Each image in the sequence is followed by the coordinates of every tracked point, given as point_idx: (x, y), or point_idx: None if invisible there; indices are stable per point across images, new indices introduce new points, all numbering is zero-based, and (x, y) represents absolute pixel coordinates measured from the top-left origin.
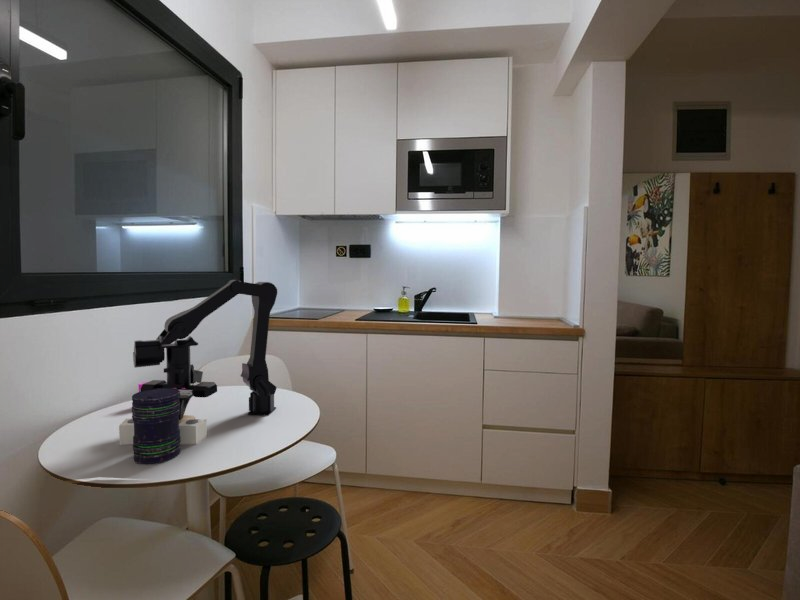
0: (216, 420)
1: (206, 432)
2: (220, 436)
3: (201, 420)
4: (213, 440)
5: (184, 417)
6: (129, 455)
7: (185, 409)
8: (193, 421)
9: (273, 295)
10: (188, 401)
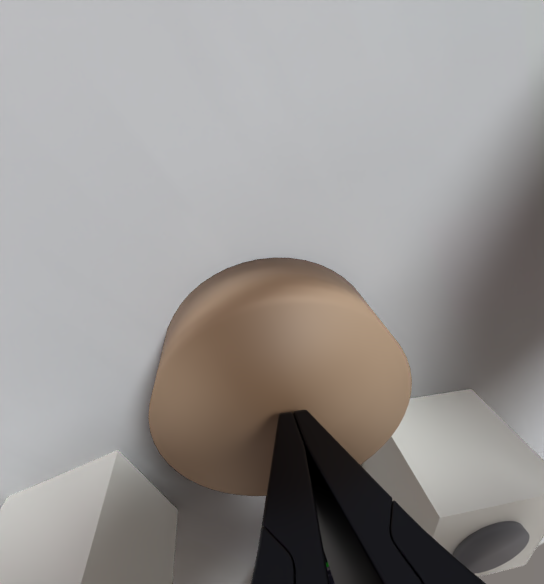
0: (456, 70)
1: (494, 414)
2: (536, 359)
3: (541, 508)
4: (510, 404)
5: (287, 354)
6: (231, 576)
7: (368, 476)
8: (502, 548)
9: None
10: (469, 580)
